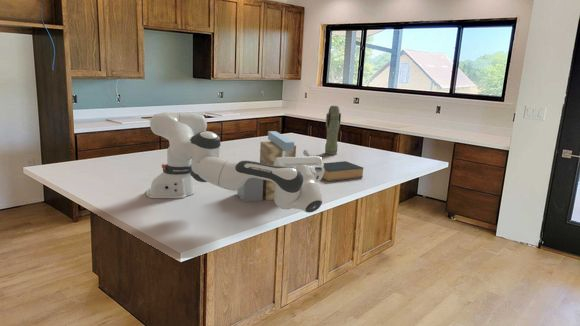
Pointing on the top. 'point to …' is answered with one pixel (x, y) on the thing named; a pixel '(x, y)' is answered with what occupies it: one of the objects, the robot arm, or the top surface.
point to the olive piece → (332, 130)
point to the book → (341, 171)
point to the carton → (268, 156)
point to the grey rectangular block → (251, 190)
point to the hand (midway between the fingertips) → (294, 151)
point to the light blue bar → (281, 141)
